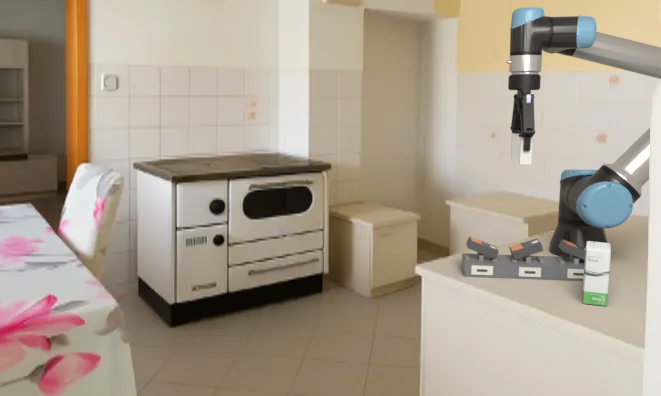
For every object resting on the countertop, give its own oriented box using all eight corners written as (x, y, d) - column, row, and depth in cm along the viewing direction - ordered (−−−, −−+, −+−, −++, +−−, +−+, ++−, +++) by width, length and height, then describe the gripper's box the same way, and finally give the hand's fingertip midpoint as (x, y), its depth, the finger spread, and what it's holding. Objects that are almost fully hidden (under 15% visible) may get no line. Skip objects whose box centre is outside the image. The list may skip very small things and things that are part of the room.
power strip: (585, 270, 155) (586, 252, 154) (596, 281, 146) (597, 262, 145) (461, 266, 159) (462, 248, 158) (464, 276, 150) (465, 257, 149)
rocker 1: (492, 253, 155) (496, 246, 155) (495, 259, 150) (499, 251, 150) (466, 243, 156) (469, 235, 155) (467, 248, 151) (471, 240, 150)
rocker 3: (585, 257, 152) (589, 249, 152) (591, 262, 148) (595, 254, 147) (558, 246, 153) (561, 238, 152) (563, 251, 148) (566, 243, 148)
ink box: (607, 307, 129) (612, 251, 127) (581, 304, 130) (585, 248, 129) (606, 295, 136) (610, 241, 135) (582, 292, 138) (586, 239, 136)
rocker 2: (539, 245, 153) (536, 237, 153) (543, 250, 149) (541, 242, 148) (511, 254, 155) (508, 246, 154) (514, 259, 150) (511, 251, 150)
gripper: (501, 75, 166) (498, 156, 170) (517, 72, 142) (513, 166, 146) (531, 75, 165) (527, 156, 169) (551, 71, 141) (546, 167, 145)
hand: (520, 161), depth 157 cm, fingers open, 12 cm apart
